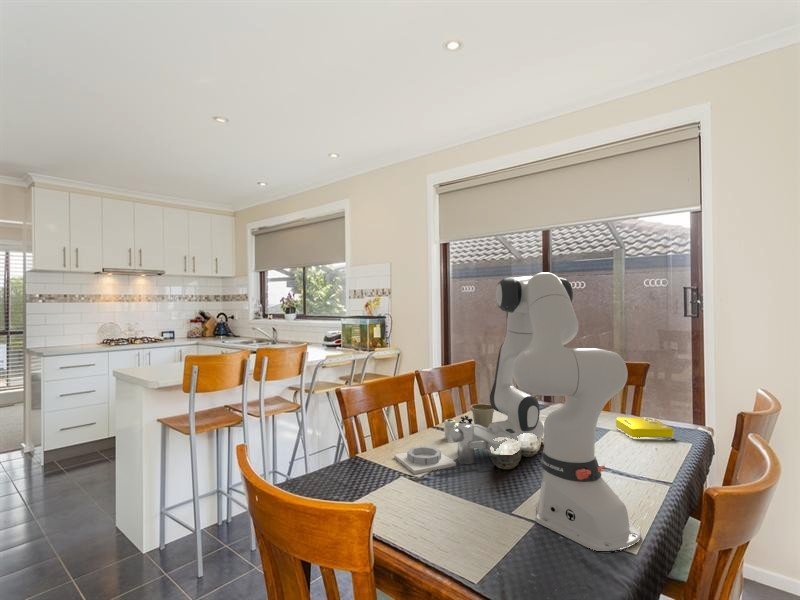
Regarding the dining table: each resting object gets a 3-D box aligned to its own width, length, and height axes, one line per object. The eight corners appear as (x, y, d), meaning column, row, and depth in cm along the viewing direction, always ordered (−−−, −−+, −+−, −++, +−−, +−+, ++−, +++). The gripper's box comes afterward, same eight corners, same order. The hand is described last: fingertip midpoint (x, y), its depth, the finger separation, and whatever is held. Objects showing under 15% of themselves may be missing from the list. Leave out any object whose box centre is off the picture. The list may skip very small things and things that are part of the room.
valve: (453, 442, 152) (474, 434, 160) (453, 423, 152) (474, 417, 160) (439, 437, 157) (460, 430, 165) (439, 419, 157) (460, 413, 165)
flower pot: (468, 431, 164) (468, 409, 163) (472, 424, 173) (472, 403, 172) (494, 434, 161) (494, 410, 161) (496, 426, 170) (496, 404, 170)
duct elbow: (477, 462, 134) (477, 426, 133) (454, 466, 130) (454, 430, 130) (468, 456, 138) (468, 422, 138) (445, 461, 134) (445, 425, 134)
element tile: (613, 428, 169) (613, 416, 169) (653, 428, 169) (653, 416, 169) (632, 441, 154) (632, 427, 154) (676, 441, 154) (676, 428, 154)
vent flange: (455, 465, 131) (455, 455, 131) (414, 474, 125) (414, 463, 125) (432, 450, 143) (432, 441, 143) (394, 457, 137) (394, 448, 137)
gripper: (480, 417, 150) (445, 423, 144) (520, 435, 131) (483, 441, 125) (480, 436, 150) (445, 441, 144) (520, 455, 131) (483, 463, 125)
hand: (463, 442), depth 134 cm, fingers open, 5 cm apart
